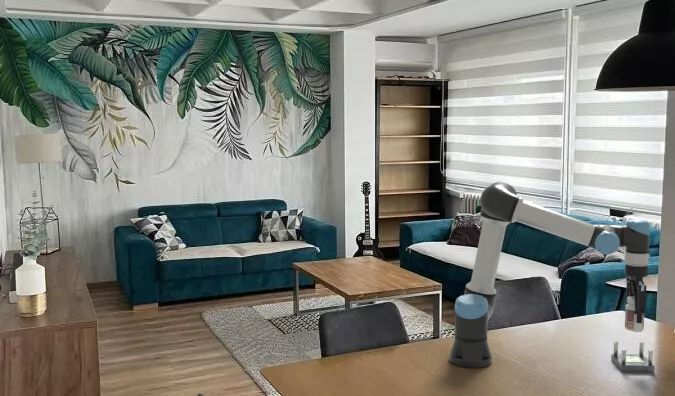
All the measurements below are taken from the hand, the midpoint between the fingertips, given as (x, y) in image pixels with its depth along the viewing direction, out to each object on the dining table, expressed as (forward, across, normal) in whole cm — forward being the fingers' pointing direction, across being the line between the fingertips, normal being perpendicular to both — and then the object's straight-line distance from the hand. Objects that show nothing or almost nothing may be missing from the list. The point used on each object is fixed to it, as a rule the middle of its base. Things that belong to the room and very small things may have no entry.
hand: (634, 328), depth 252 cm
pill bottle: (0, 0, 0) cm, 0 cm away
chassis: (+14, 0, 0) cm, 14 cm away
